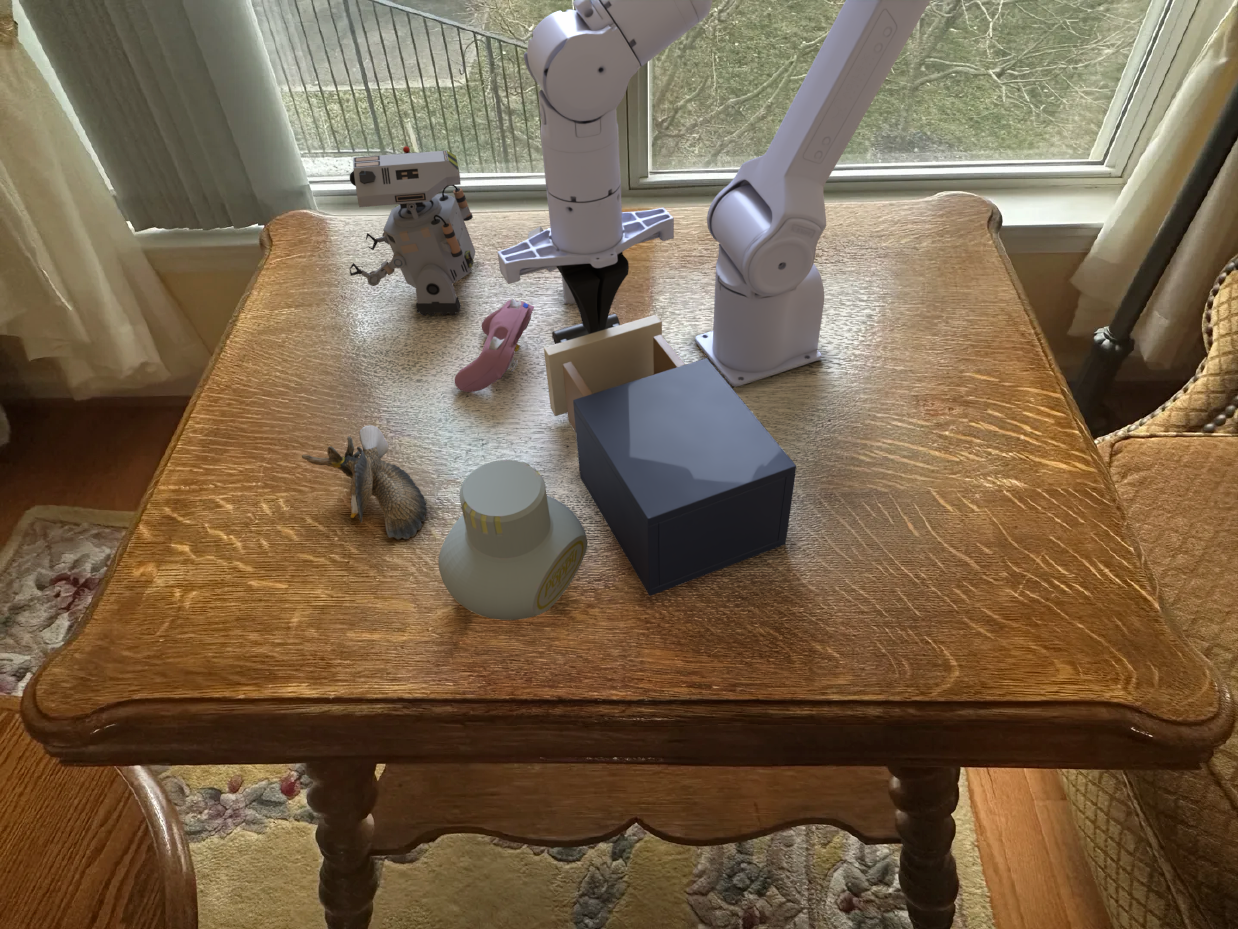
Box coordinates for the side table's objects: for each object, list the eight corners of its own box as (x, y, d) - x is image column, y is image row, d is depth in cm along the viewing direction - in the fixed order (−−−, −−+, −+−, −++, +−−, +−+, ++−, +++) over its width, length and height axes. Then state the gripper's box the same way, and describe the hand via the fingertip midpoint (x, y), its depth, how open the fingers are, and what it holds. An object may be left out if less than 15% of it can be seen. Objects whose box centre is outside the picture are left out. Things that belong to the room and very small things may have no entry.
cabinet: (579, 477, 78) (572, 399, 72) (704, 435, 81) (707, 357, 75) (649, 597, 69) (647, 519, 63) (786, 544, 72) (796, 465, 66)
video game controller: (494, 411, 87) (519, 361, 82) (448, 389, 86) (471, 338, 81) (523, 346, 93) (548, 296, 89) (481, 325, 93) (504, 274, 88)
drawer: (533, 380, 86) (525, 319, 81) (637, 348, 89) (635, 288, 84) (606, 502, 75) (602, 440, 70) (721, 461, 78) (725, 399, 73)
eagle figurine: (292, 502, 76) (347, 548, 70) (307, 418, 74) (365, 458, 68) (375, 500, 81) (432, 542, 75) (391, 421, 80) (451, 458, 74)
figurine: (381, 267, 102) (348, 135, 91) (487, 266, 101) (465, 133, 90) (361, 317, 95) (323, 181, 85) (474, 317, 95) (449, 180, 84)
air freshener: (514, 511, 76) (499, 419, 69) (602, 549, 73) (595, 457, 65) (429, 608, 69) (402, 518, 62) (522, 655, 66) (505, 565, 59)
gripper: (511, 232, 67) (531, 378, 77) (692, 184, 71) (689, 329, 81) (480, 188, 72) (503, 331, 82) (652, 145, 76) (654, 287, 85)
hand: (593, 327), depth 81 cm, fingers closed
